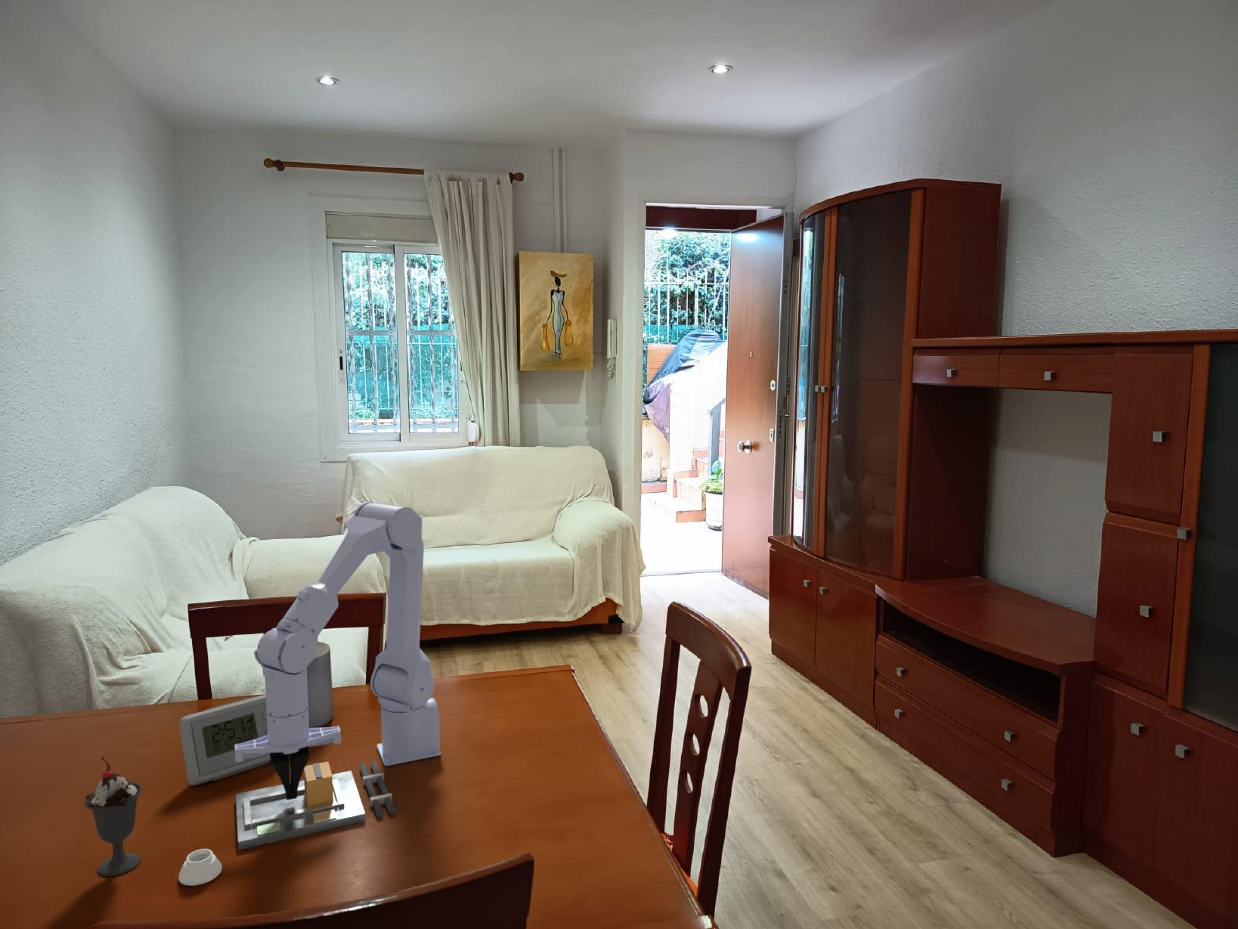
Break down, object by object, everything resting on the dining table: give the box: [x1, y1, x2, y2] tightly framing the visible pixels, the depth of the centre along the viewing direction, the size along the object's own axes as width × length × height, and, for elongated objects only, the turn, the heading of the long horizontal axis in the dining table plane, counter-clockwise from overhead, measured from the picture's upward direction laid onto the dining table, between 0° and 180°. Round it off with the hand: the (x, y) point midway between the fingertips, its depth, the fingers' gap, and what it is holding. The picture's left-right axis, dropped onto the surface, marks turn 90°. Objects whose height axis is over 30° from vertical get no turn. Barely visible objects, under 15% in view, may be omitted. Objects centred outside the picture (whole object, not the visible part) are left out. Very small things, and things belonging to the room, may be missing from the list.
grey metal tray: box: [235, 770, 366, 851], centre depth 124 cm, size 17×14×2 cm
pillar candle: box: [306, 641, 334, 728], centre depth 154 cm, size 10×10×15 cm
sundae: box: [83, 755, 144, 877], centre depth 109 cm, size 7×7×15 cm
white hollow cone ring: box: [178, 848, 223, 886], centre depth 108 cm, size 5×3×5 cm
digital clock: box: [178, 693, 271, 786], centre depth 137 cm, size 16×9×11 cm, turn 122°
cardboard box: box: [303, 761, 333, 808], centre depth 125 cm, size 4×5×5 cm
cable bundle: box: [359, 760, 396, 819], centre depth 130 cm, size 3×16×1 cm, turn 26°
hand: (291, 796), depth 123 cm, fingers closed
